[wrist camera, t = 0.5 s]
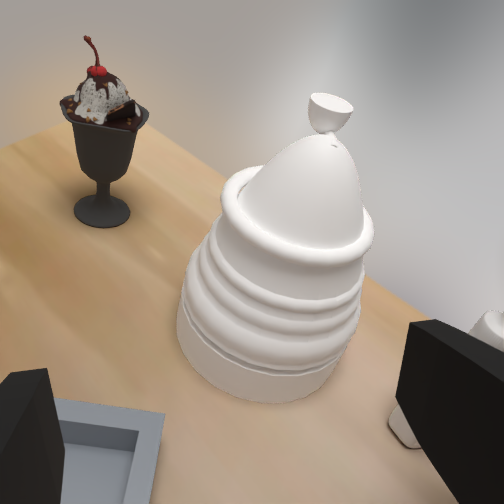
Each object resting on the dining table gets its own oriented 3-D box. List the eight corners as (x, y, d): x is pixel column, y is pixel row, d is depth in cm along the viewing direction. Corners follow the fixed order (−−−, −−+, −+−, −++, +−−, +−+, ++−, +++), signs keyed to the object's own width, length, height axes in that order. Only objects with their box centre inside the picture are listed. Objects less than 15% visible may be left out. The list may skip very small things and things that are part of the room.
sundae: (71, 186, 45) (68, 21, 35) (142, 196, 46) (157, 40, 37) (54, 228, 40) (47, 49, 30) (135, 238, 41) (151, 70, 32)
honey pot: (184, 262, 40) (224, 51, 29) (324, 285, 42) (412, 97, 31) (165, 392, 30) (215, 148, 19) (349, 413, 32) (491, 205, 21)
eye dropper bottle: (466, 453, 32) (584, 346, 25) (393, 449, 31) (492, 335, 24) (443, 397, 35) (540, 287, 28) (375, 392, 34) (458, 276, 27)
